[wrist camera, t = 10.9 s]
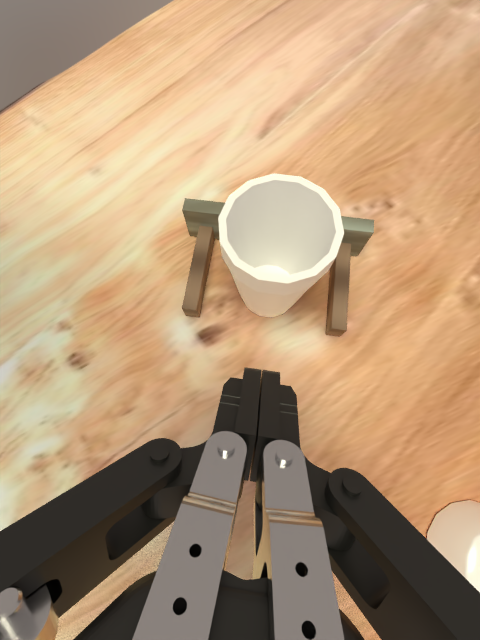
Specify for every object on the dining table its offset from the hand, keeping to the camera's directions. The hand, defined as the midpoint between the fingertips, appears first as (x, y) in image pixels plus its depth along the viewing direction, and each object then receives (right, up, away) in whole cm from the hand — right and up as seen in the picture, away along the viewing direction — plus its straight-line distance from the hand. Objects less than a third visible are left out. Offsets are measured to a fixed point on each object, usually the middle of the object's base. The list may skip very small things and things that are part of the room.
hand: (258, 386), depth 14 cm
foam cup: (+2, +6, +23) cm, 24 cm away
